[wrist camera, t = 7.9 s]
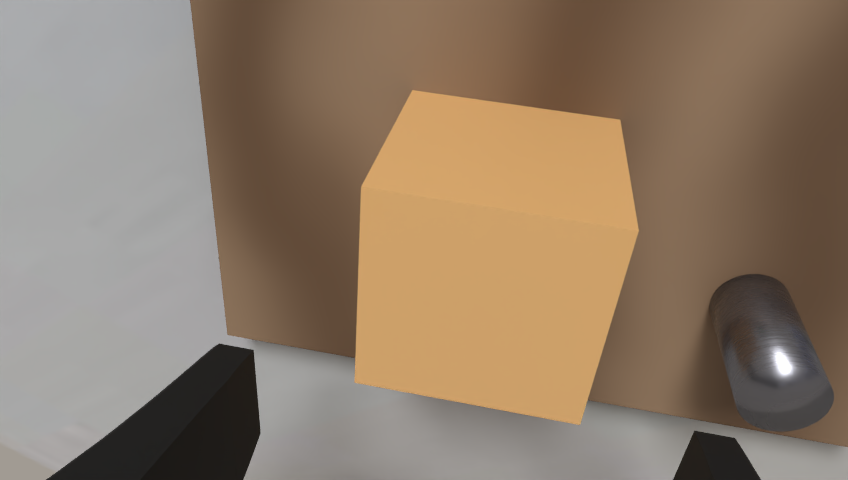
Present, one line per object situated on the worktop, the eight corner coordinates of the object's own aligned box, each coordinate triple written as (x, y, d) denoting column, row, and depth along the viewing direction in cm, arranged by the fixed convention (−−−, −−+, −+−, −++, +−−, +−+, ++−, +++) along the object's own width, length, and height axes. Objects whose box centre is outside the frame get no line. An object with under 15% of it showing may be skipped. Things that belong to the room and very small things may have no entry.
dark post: (787, 249, 19) (849, 376, 15) (761, 305, 20) (813, 438, 16) (712, 237, 19) (753, 360, 15) (691, 294, 20) (724, 422, 16)
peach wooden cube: (620, 119, 16) (638, 230, 12) (577, 287, 19) (579, 424, 15) (412, 90, 17) (360, 187, 12) (400, 257, 19) (354, 382, 15)
